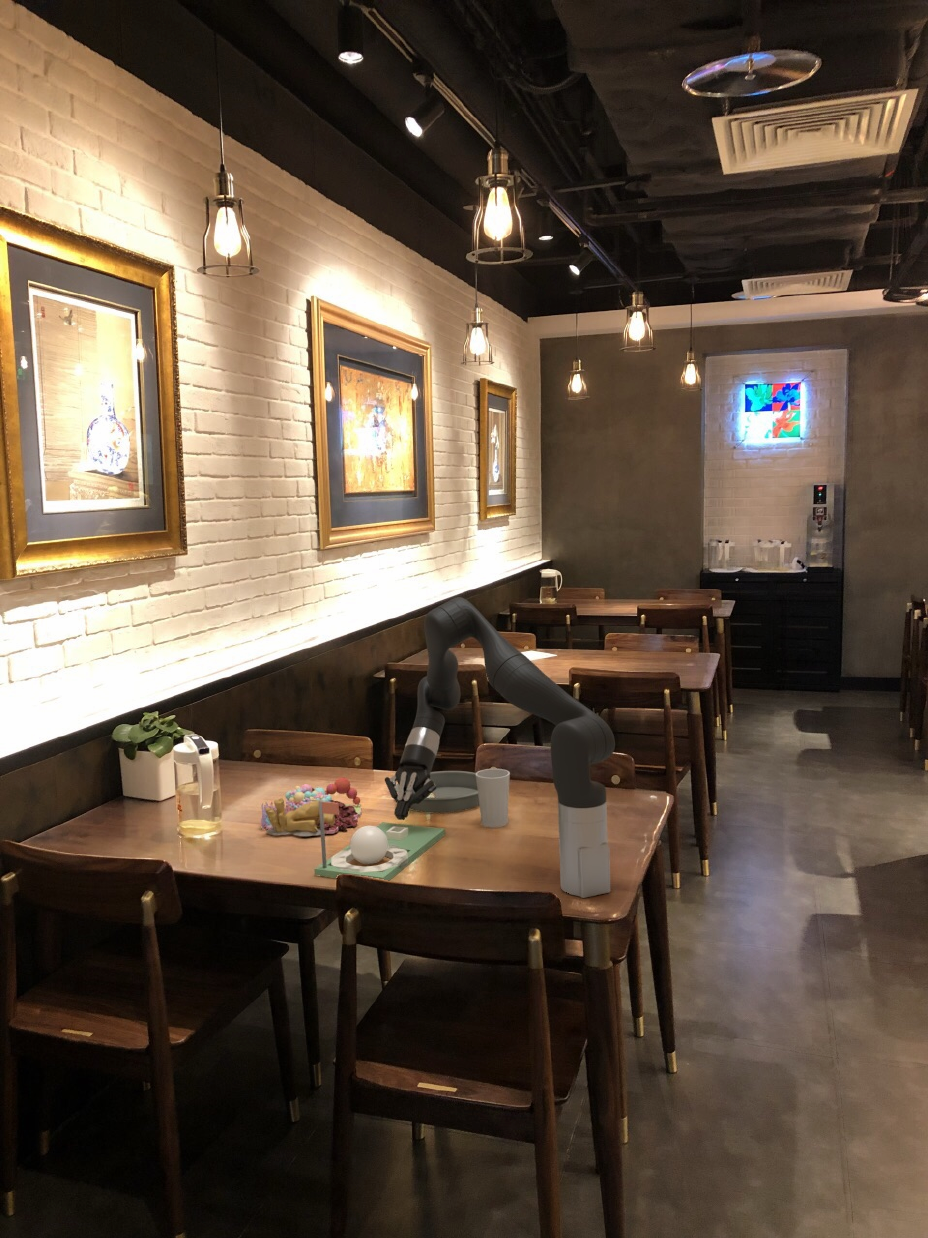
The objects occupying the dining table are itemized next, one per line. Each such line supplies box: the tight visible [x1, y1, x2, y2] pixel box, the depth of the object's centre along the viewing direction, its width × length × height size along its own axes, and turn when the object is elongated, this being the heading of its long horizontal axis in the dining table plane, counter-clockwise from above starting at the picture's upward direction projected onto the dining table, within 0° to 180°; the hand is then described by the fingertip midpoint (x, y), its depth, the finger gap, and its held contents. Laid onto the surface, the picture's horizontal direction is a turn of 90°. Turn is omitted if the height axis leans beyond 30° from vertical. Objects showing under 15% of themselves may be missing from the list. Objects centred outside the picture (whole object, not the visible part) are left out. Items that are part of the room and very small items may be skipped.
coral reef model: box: [260, 777, 363, 837], centre depth 229 cm, size 25×24×9 cm
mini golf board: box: [313, 801, 446, 881], centre depth 204 cm, size 30×16×16 cm, turn 157°
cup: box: [475, 768, 511, 829], centre depth 222 cm, size 8×8×12 cm
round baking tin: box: [395, 770, 480, 814], centre depth 242 cm, size 25×25×4 cm
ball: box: [349, 825, 388, 866], centre depth 200 cm, size 8×8×8 cm
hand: (399, 818), depth 212 cm, fingers closed
